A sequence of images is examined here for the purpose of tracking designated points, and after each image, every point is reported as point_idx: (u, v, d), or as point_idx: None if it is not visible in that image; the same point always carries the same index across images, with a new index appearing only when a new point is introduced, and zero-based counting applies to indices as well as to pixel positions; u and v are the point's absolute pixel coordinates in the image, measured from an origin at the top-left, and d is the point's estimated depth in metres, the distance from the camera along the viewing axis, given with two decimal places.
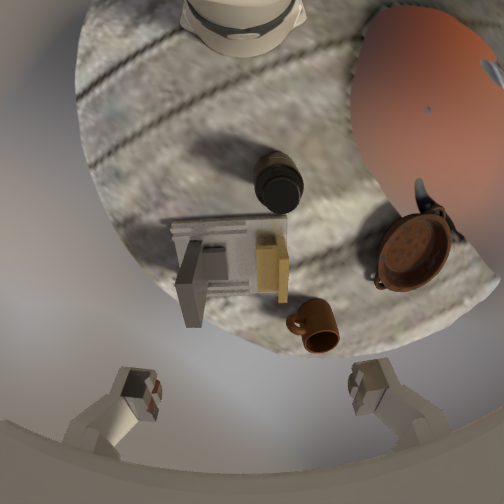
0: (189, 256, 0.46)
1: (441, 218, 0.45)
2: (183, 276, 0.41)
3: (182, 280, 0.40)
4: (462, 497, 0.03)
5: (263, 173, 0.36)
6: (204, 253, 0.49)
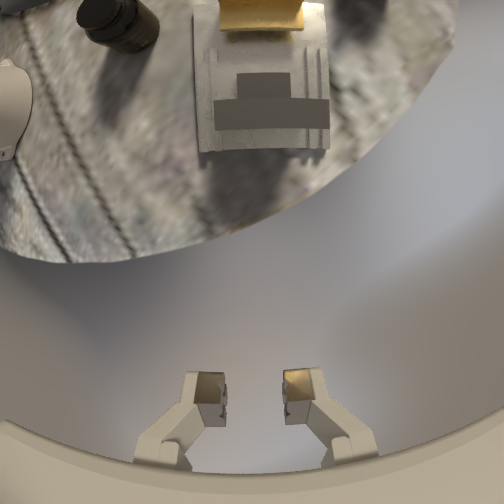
0: None
1: None
2: None
3: None
4: (462, 497, 0.03)
5: (90, 37, 0.19)
6: None
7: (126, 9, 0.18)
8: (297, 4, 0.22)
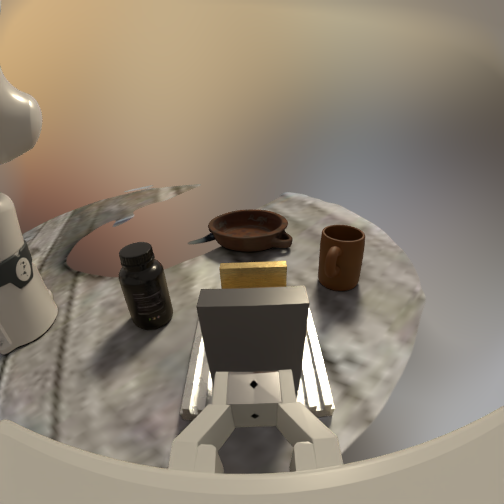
0: None
1: None
2: None
3: None
4: (462, 497, 0.03)
5: (121, 276, 0.36)
6: None
7: (153, 265, 0.38)
8: None
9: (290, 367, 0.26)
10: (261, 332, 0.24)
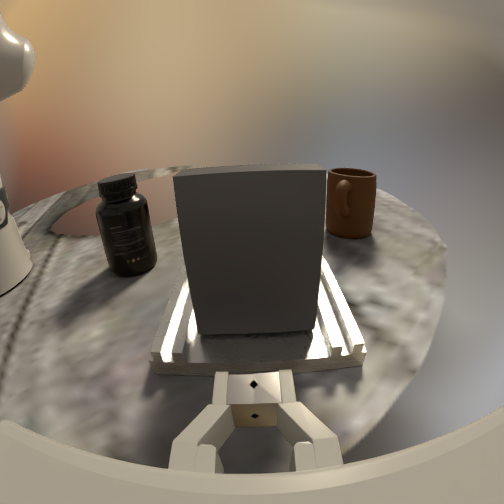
0: None
1: None
2: None
3: None
4: (462, 497, 0.03)
5: (97, 209, 0.30)
6: None
7: (135, 195, 0.31)
8: None
9: (303, 285, 0.19)
10: (262, 219, 0.17)
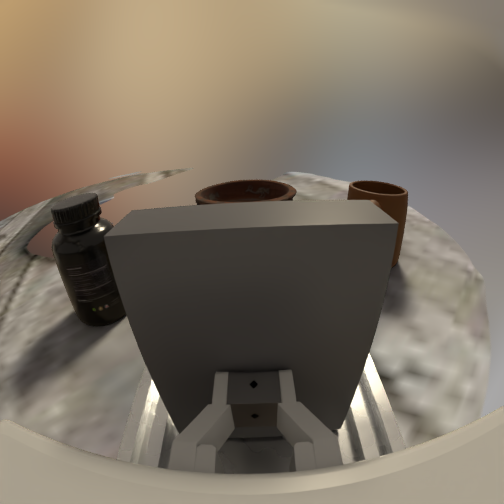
0: None
1: (202, 189, 0.54)
2: None
3: None
4: (462, 497, 0.03)
5: (52, 242, 0.21)
6: None
7: (98, 225, 0.23)
8: None
9: (333, 391, 0.11)
10: (274, 312, 0.09)
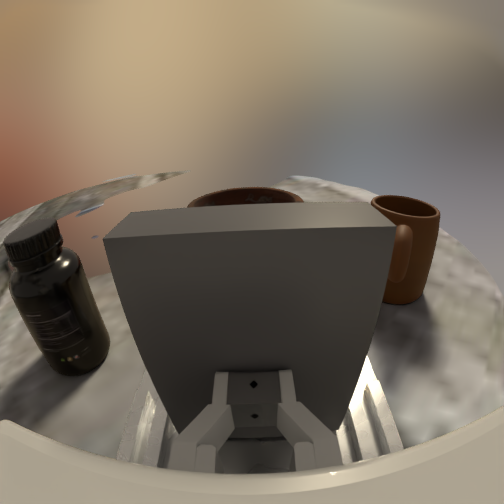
0: None
1: None
2: None
3: None
4: (462, 497, 0.03)
5: None
6: None
7: (59, 260, 0.17)
8: None
9: (331, 392, 0.11)
10: (272, 314, 0.09)
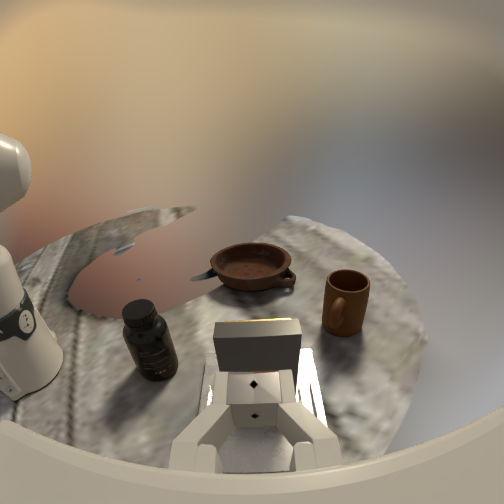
0: None
1: None
2: None
3: None
4: (462, 497, 0.03)
5: (125, 335, 0.35)
6: None
7: (157, 324, 0.37)
8: None
9: None
10: (264, 356, 0.29)
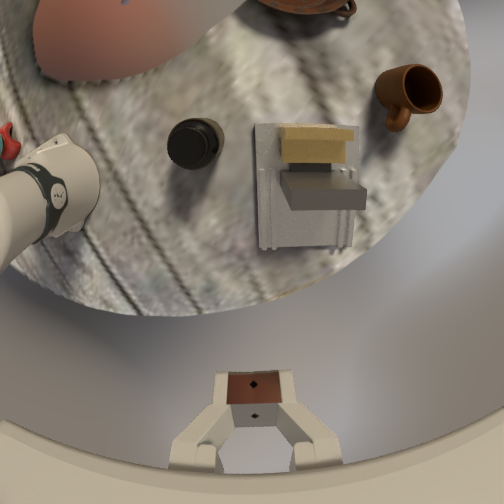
0: (283, 187, 0.38)
1: None
2: (289, 198, 0.33)
3: (290, 200, 0.32)
4: (462, 497, 0.03)
5: None
6: (292, 170, 0.40)
7: (210, 144, 0.33)
8: (342, 140, 0.36)
9: None
10: None
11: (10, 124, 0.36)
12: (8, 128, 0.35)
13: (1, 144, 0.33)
